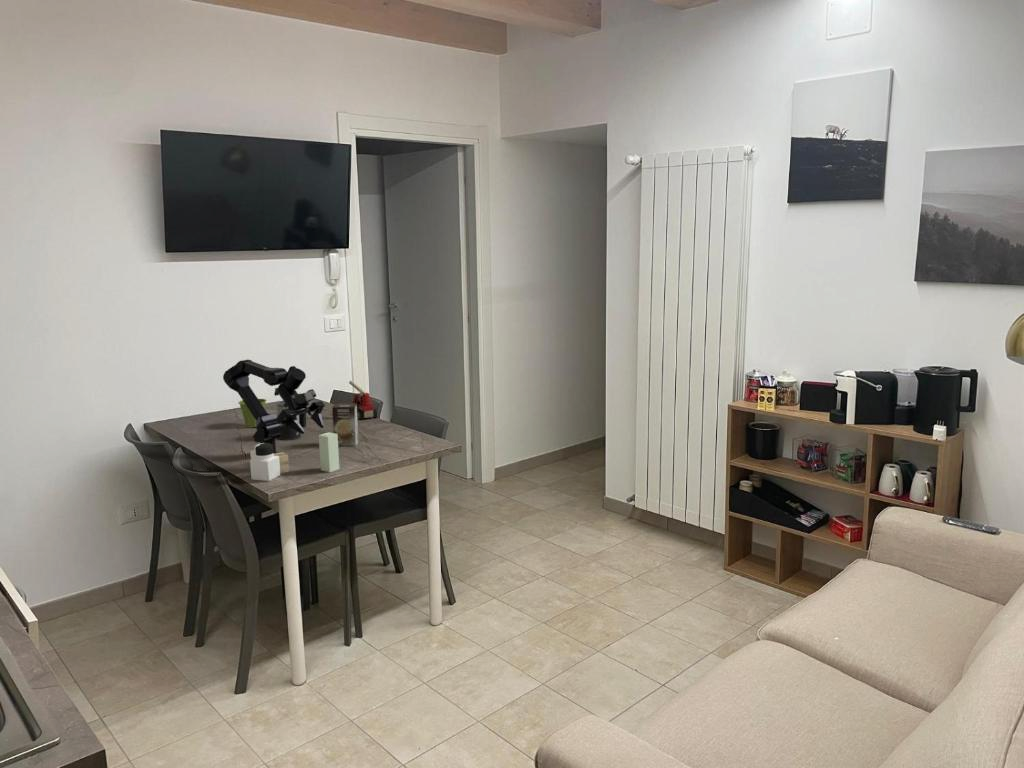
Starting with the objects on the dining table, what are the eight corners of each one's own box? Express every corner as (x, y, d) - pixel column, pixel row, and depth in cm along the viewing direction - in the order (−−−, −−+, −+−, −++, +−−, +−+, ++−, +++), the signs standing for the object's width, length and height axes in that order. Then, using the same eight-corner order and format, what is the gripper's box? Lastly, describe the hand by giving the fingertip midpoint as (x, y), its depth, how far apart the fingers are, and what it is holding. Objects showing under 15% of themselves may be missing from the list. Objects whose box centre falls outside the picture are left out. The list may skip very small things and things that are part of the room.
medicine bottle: (280, 475, 269) (278, 442, 267) (269, 481, 262) (266, 447, 260) (263, 473, 271) (260, 440, 269) (251, 479, 264) (248, 446, 262)
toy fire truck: (369, 411, 363) (367, 375, 359) (378, 419, 349) (376, 380, 345) (345, 414, 358) (343, 377, 354) (353, 421, 344) (351, 383, 341)
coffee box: (333, 446, 304) (330, 407, 301) (336, 442, 311) (333, 403, 307) (356, 446, 305) (354, 406, 301) (359, 441, 311) (357, 403, 308)
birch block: (270, 470, 274) (269, 454, 273) (284, 468, 277) (283, 452, 276) (275, 474, 270) (274, 457, 269) (289, 471, 273) (288, 455, 272)
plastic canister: (251, 468, 278) (250, 449, 276) (266, 466, 279) (264, 448, 278) (252, 472, 273) (250, 453, 272) (266, 470, 275) (265, 451, 273)
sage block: (320, 470, 274) (318, 435, 272) (330, 466, 278) (328, 432, 275) (329, 472, 272) (327, 436, 269) (339, 468, 275) (337, 433, 273)
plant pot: (272, 422, 343) (270, 398, 341) (261, 429, 332) (259, 404, 329) (247, 422, 344) (245, 398, 342) (235, 429, 333) (233, 404, 331)
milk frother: (294, 440, 313) (292, 405, 310) (259, 439, 316) (256, 404, 314) (310, 432, 327) (308, 398, 324) (276, 430, 330) (274, 396, 327)
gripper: (279, 388, 268) (303, 422, 264) (319, 379, 283) (342, 411, 280) (266, 407, 274) (289, 441, 270) (306, 397, 289) (328, 429, 285)
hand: (313, 430), depth 276 cm, fingers open, 9 cm apart
